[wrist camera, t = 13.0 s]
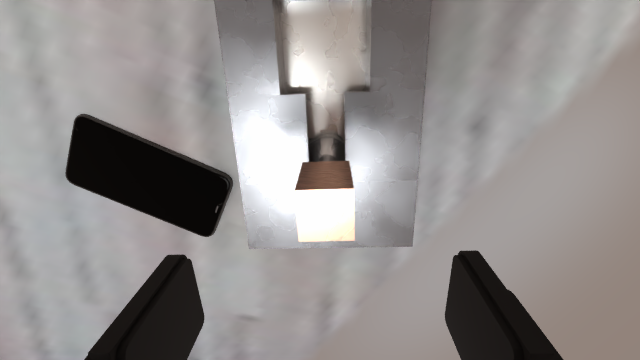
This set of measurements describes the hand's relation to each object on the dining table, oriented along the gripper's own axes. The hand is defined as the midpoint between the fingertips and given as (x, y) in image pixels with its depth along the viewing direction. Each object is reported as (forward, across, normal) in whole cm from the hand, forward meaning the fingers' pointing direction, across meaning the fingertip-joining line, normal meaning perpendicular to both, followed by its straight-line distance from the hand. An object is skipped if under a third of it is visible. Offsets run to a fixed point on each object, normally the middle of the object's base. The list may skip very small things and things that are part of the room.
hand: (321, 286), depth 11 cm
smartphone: (+19, +17, +3) cm, 26 cm away
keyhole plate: (+18, 0, -3) cm, 19 cm away
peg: (+17, 0, +1) cm, 17 cm away
